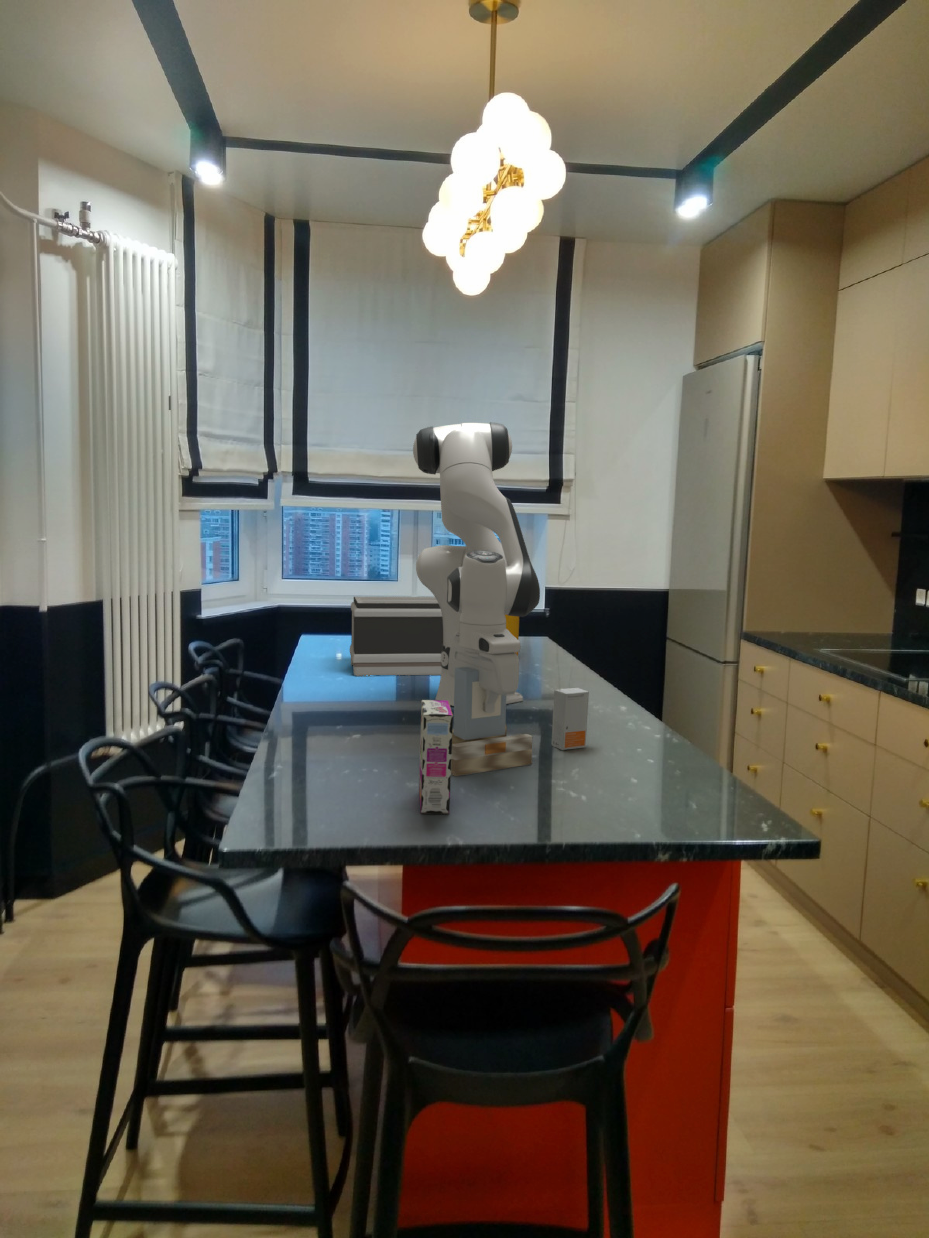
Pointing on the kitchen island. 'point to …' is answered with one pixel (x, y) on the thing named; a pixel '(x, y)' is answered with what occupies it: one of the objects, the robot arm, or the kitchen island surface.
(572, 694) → the skincare box
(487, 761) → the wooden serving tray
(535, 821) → the kitchen island surface
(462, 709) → the box
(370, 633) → the toaster
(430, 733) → the candy bar box
